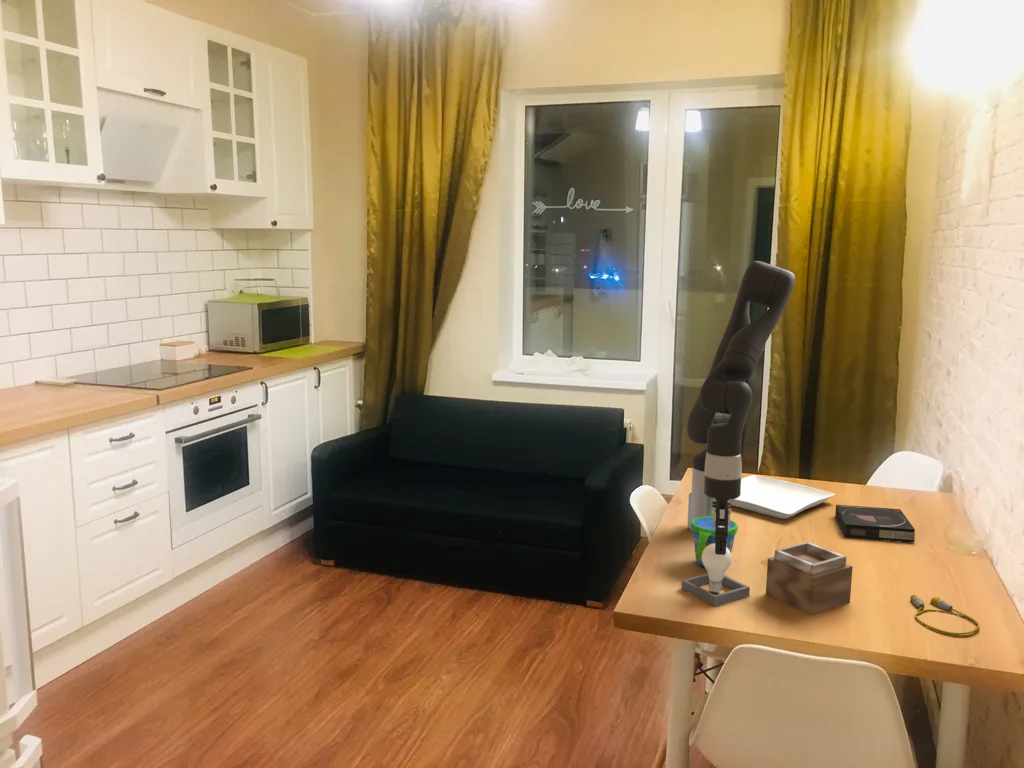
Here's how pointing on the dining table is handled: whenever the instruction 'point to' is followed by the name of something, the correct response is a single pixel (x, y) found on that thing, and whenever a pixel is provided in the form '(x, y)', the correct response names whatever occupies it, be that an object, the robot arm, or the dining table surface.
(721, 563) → the lightbulb
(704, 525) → the snack cup
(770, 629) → the dining table surface
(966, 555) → the dining table surface
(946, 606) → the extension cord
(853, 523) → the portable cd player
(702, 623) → the dining table surface
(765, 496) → the square plate
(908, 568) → the dining table surface
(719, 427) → the robot arm
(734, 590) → the frame
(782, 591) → the walnut stand
